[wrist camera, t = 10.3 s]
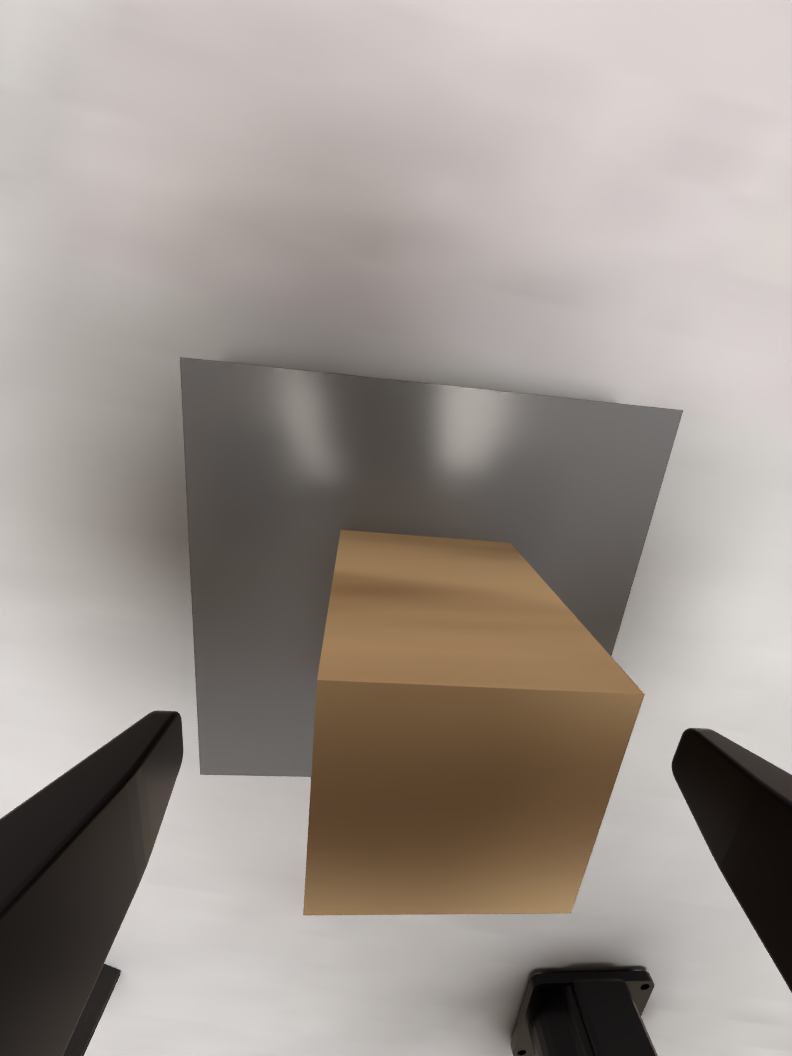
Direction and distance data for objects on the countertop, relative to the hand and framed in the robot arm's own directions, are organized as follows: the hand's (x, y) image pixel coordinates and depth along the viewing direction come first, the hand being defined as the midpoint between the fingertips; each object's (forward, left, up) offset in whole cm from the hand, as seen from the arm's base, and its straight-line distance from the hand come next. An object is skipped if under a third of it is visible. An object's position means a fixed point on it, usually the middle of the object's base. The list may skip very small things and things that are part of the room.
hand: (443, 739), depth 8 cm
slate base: (0, 0, -8) cm, 8 cm away
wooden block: (0, 0, -5) cm, 5 cm away
